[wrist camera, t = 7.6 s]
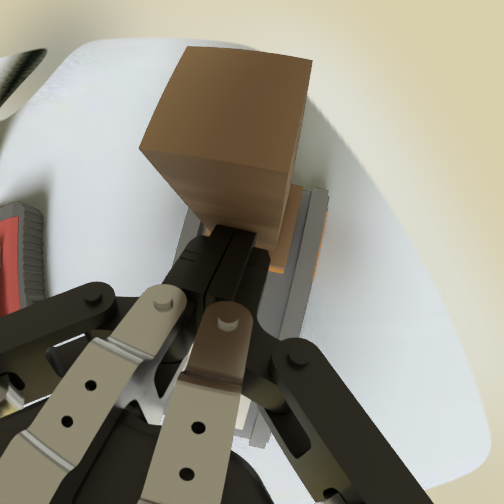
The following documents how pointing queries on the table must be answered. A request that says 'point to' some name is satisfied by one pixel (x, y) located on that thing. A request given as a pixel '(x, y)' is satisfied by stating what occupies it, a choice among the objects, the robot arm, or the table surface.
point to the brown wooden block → (233, 140)
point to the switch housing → (276, 294)
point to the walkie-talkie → (20, 257)
